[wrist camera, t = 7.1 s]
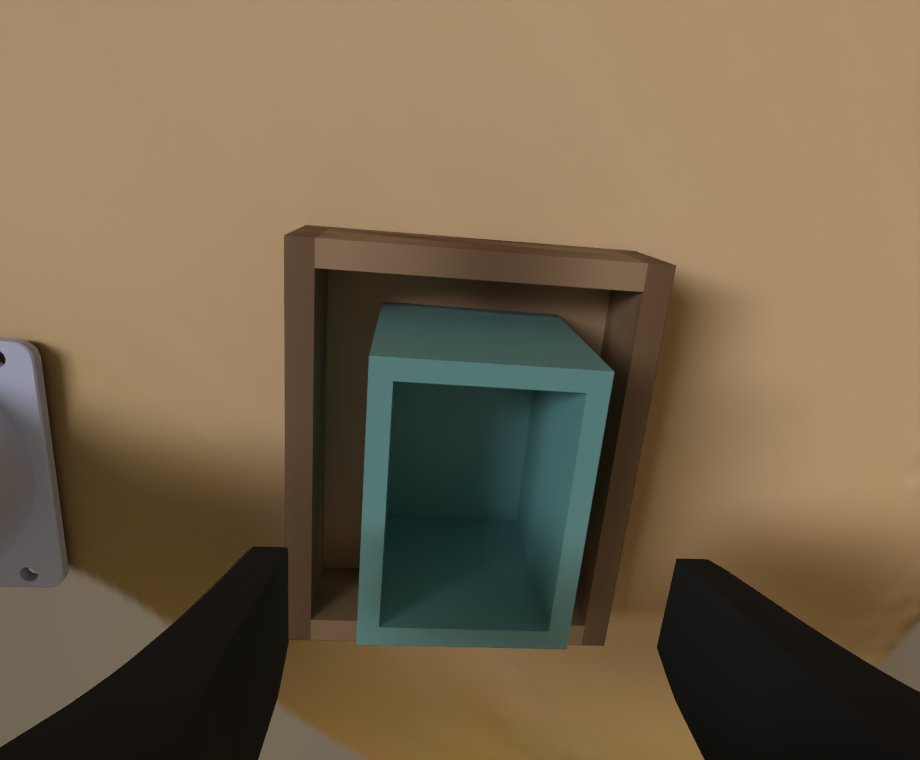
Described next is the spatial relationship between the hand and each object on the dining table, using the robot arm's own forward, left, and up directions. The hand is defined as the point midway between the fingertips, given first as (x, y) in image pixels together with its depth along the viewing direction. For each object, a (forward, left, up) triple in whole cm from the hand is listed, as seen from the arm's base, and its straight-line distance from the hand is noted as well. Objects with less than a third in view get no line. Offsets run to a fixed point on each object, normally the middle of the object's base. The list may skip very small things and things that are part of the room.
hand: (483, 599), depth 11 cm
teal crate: (0, 0, -8) cm, 8 cm away
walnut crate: (0, 0, -8) cm, 8 cm away
